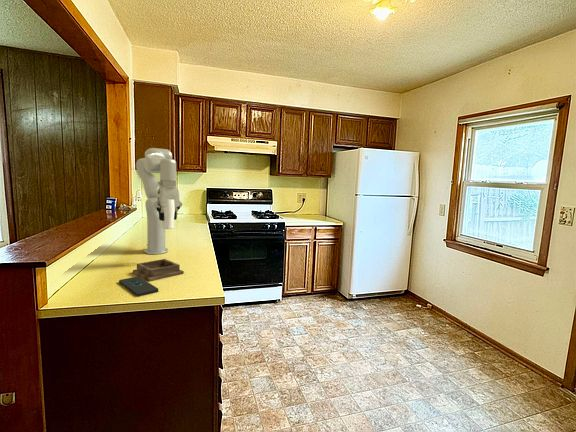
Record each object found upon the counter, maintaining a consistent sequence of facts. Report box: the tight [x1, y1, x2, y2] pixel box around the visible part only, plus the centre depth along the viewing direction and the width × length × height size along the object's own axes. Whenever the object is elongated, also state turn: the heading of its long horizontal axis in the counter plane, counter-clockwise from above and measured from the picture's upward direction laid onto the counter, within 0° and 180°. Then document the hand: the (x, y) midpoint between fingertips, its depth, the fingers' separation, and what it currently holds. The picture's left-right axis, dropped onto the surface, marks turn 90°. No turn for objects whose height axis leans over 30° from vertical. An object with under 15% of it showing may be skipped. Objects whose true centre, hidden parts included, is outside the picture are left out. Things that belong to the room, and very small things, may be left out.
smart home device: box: [118, 275, 159, 297], centre depth 123 cm, size 8×2×20 cm
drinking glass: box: [161, 199, 175, 230], centre depth 155 cm, size 7×7×15 cm
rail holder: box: [132, 258, 185, 282], centre depth 141 cm, size 16×16×4 cm
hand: (168, 219), depth 155 cm, fingers closed on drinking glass, 6 cm apart
